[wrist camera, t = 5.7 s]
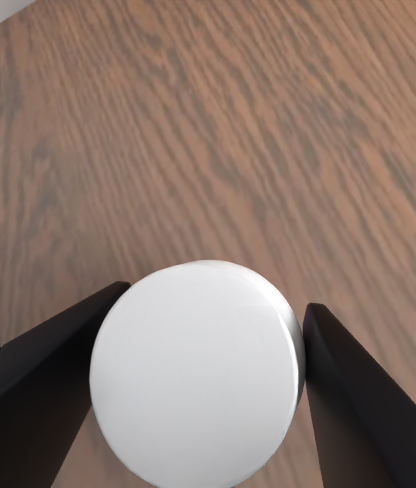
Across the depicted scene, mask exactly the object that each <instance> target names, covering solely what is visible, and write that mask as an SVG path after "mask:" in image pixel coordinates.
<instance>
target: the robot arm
mask: <svg viewBox="0 0 416 488" xmlns="http://www.w3.org/2000/svg"><path fill="white" fill-rule="evenodd" d="M130 287H131V284H130V283H128V282H122V281H116V282H114V283H113V284H111V285H109V286H107V287H105V288H104V289H102V290H100V291H98V292H97V293H95V294H93V295H91V296H89V297H88V298H86V299H84V300H82V301H81V302H79V303H77V304H75V305H73V306H72V307H70V308H68V309H66V310H65V311H63V312H61V313H59V314H57V315H56V316H54V317H52V318H50V319H49V320H47V321H45V322H43V323H41V324H40V325H38V326H36V327H34V328H33V329H31V330H29V331H27V332H25V333H24V334H22V335H20V336H18V337H16V338H15V339H13V340H11V341H9V342H8V343H6V344H4V345H3V346H2V347H0V488H51V486H52V484H53V482H54V480H55V478H56V476H57V474H58V472H59V470H60V468H61V466H62V464H63V462H64V460H65V458H66V455H67V453H68V451H69V449H70V447H71V445H72V443H73V441H74V439H75V437H76V435H77V433H78V431H79V429H80V427H81V425H82V423H83V421H84V419H85V417H86V415H87V413H88V411H89V409H90V407H91V405H92V400H91V394H90V364H91V357H92V351H93V347H94V344H95V340H96V337H97V335H98V332H99V329H100V327H101V325H102V323H103V321H104V319H105V318H106V316H107V314H108V313H109V311H110V310H111V308H112V307H113V306H114V304H115V303H116V302H117V300H118V299H119V298H120V297H121V296H122V295H123V294H124V293H125V292H126V291H127V290H128V289H129V288H130ZM303 339H304V345H305V351H306V374H305V381H306V388H307V394H308V400H309V406H310V412H311V417H312V423H313V429H314V435H315V440H316V446H317V452H318V457H319V463H320V469H321V475H322V480H323V486H324V488H416V404H415V403H414V402H413V401H412V400H411V398H410V397H409V396H408V395H407V394H406V393H405V392H404V391H403V390H402V389H401V388H400V386H399V385H398V384H397V383H396V382H395V381H394V380H393V379H392V378H391V377H390V376H389V375H388V373H387V372H386V371H385V370H384V369H383V368H382V367H381V366H380V365H379V364H378V363H377V362H376V360H375V359H374V358H373V357H372V356H371V355H370V354H369V353H368V352H367V351H366V350H365V349H364V347H363V346H362V345H361V344H360V343H359V342H358V341H357V340H356V339H355V338H354V337H353V335H352V334H351V333H350V332H349V331H348V330H347V329H346V328H345V327H344V326H343V325H342V324H341V322H340V321H339V320H338V319H337V318H336V317H335V316H334V315H333V314H332V313H331V312H330V311H329V309H328V308H327V307H326V306H325V305H323V304H318V303H309V304H308V305H307V309H306V313H305V317H304V322H303Z"/></svg>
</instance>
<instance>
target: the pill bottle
mask: <svg viewBox="0 0 416 488" xmlns="http://www.w3.org/2000/svg"><path fill="white" fill-rule="evenodd" d="M305 374H306V351H305V345H304V339H303V336H302V332H301V329H300V326H299V323H298V321H297V319H296V316H295V314H294V312H293V311H292V309H291V307H290V305H289V304H288V302H287V301H286V300H285V298H284V297H283V296H282V294H281V293H280V292H279V291H278V290H277V289H276V288H275V287H274V286H273V285H272V284H271V283H270V282H269V281H267V280H266V279H265V278H263V277H262V276H260V275H259V274H257V273H256V272H254V271H252V270H250V269H248V268H246V267H243V266H241V265H238V264H234V263H231V262H227V261H220V260H200V261H193V262H189V263H185V264H182V265H175V266H172V267H168V268H165V269H162V270H159V271H156V272H154V273H152V274H150V275H148V276H146V277H145V278H143V279H141V280H140V281H138V282H137V283H135V284H134V285H133V286H132V287H130V288H129V289H128V290H127V291H126V292H125V293H124V294H123V295H122V296H121V297H120V298H119V299H118V300H117V302H116V303H115V304H114V306H113V307H112V308H111V310H110V311H109V313H108V314H107V316H106V318H105V319H104V321H103V323H102V325H101V327H100V329H99V332H98V335H97V337H96V340H95V344H94V347H93V351H92V357H91V364H90V394H91V400H92V406H93V410H94V414H95V417H96V420H97V422H98V425H99V427H100V430H101V432H102V434H103V436H104V439H105V440H106V442H107V443H108V445H109V446H110V448H111V450H112V451H113V453H114V454H115V455H116V456H117V458H118V459H119V460H120V461H121V462H122V463H123V464H124V465H125V466H126V467H127V468H128V469H129V470H130V471H131V472H133V473H134V474H136V475H137V476H139V477H140V478H142V479H143V480H145V481H146V482H147V483H149V484H152V485H154V486H156V487H158V488H232V487H234V486H235V485H237V484H239V483H242V482H244V481H245V480H246V479H248V478H249V477H251V476H252V475H253V474H255V473H256V472H257V471H258V470H259V469H261V468H262V467H263V466H264V465H265V464H266V463H267V462H268V461H269V459H270V458H271V457H272V456H273V454H274V453H275V451H276V450H277V449H278V447H279V446H280V444H281V443H282V441H283V439H284V437H285V435H286V433H287V430H288V428H289V426H290V423H291V420H292V418H293V414H294V413H295V410H296V408H297V406H298V404H299V401H300V398H301V395H302V392H303V387H304V382H305Z"/></svg>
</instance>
